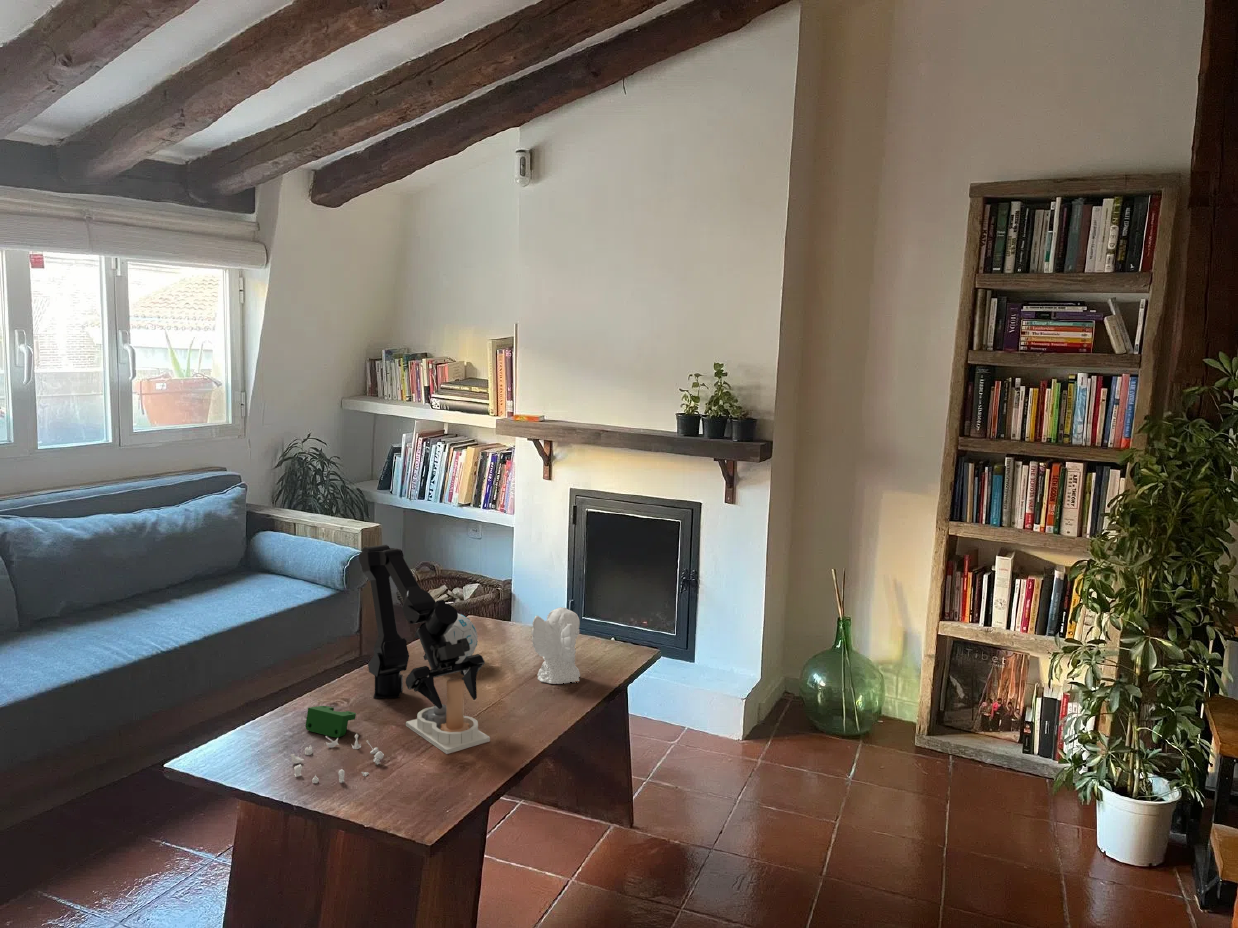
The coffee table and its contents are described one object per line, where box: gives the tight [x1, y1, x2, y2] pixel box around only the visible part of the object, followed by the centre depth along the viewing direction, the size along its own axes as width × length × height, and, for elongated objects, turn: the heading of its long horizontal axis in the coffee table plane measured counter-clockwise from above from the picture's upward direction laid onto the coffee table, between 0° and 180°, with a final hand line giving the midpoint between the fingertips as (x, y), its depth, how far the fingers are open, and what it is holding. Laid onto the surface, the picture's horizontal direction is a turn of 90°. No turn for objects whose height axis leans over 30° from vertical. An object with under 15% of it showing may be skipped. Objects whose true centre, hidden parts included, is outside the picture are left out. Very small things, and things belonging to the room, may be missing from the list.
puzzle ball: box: [444, 613, 478, 664], centre depth 269 cm, size 15×15×15 cm
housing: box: [405, 703, 491, 755], centre depth 224 cm, size 19×12×6 cm, turn 41°
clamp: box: [305, 705, 357, 739], centre depth 223 cm, size 11×6×8 cm, turn 61°
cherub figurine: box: [531, 606, 581, 685], centre depth 260 cm, size 13×12×20 cm
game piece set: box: [289, 733, 385, 784], centre depth 207 cm, size 19×20×4 cm
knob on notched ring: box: [440, 677, 469, 732], centre depth 221 cm, size 7×7×13 cm
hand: (458, 703), depth 219 cm, fingers open, 9 cm apart
